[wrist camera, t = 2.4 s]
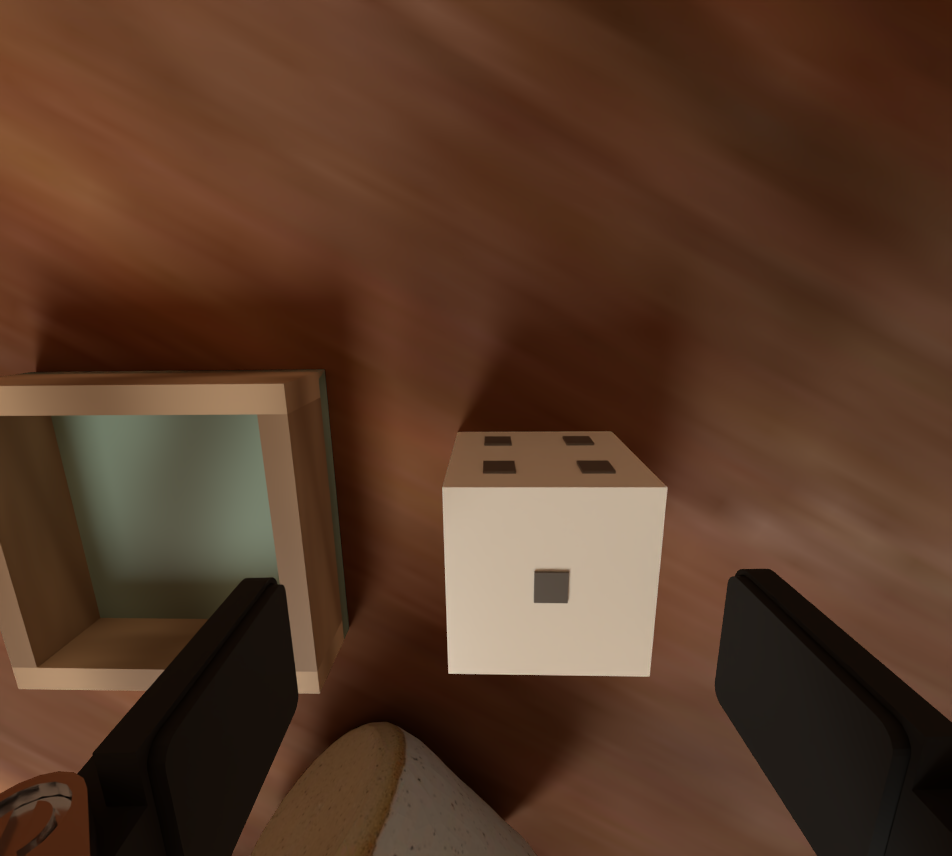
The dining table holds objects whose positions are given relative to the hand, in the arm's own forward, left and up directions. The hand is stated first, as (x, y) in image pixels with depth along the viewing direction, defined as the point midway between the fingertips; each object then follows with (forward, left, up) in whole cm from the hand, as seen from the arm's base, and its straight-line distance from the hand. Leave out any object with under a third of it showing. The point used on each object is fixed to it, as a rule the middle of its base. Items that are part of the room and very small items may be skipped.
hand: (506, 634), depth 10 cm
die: (-1, 0, -6) cm, 6 cm away
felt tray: (+10, 0, -6) cm, 12 cm away
